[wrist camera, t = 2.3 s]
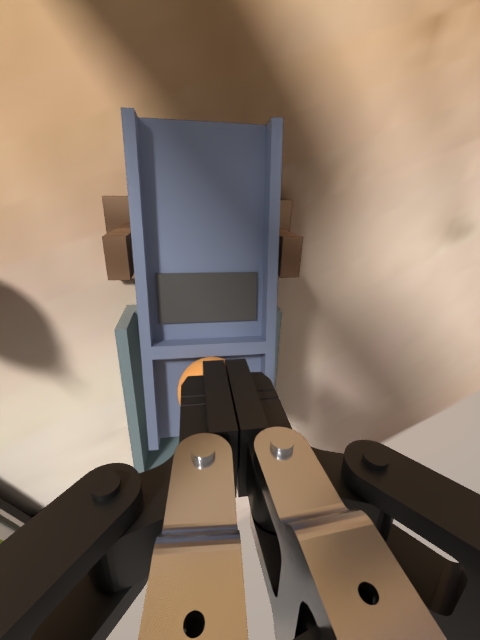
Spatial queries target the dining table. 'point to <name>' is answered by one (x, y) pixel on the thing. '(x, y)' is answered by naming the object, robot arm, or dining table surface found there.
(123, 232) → the lever stand
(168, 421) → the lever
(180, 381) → the ball
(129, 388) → the cup
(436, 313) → the dining table surface
